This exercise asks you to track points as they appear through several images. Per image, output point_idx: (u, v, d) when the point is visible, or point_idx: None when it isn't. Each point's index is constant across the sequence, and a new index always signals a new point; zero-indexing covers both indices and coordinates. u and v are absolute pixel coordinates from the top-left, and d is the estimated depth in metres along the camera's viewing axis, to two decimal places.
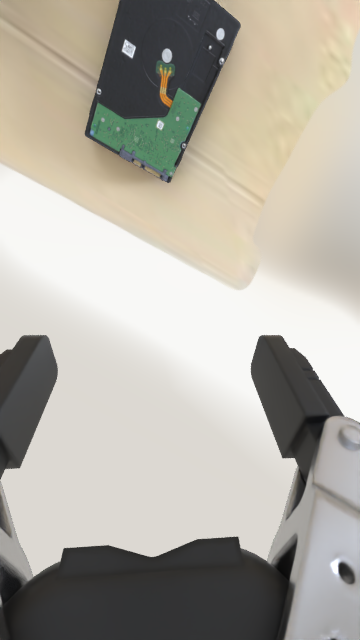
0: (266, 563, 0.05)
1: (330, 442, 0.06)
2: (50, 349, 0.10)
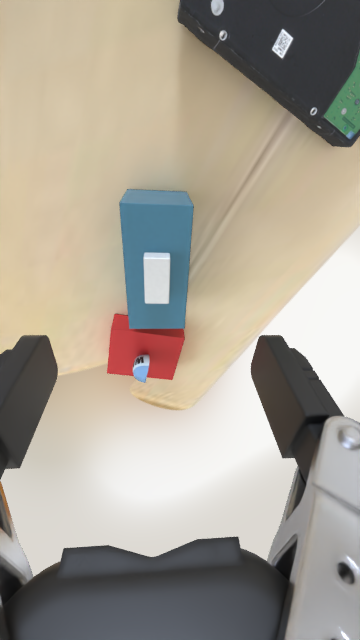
0: (266, 563, 0.05)
1: (330, 442, 0.06)
2: (50, 349, 0.10)
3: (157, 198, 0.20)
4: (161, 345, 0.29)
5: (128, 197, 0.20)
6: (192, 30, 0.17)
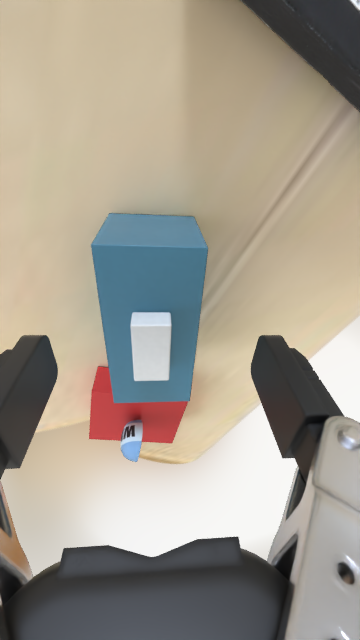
0: (266, 563, 0.05)
1: (330, 442, 0.06)
2: (50, 349, 0.10)
3: (152, 232, 0.13)
4: (157, 408, 0.23)
5: (107, 231, 0.13)
6: None
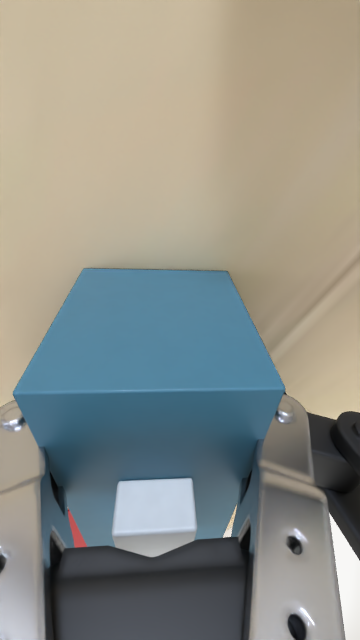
0: (226, 558, 0.05)
1: None
2: None
3: (157, 328, 0.07)
4: None
5: (67, 328, 0.06)
6: None
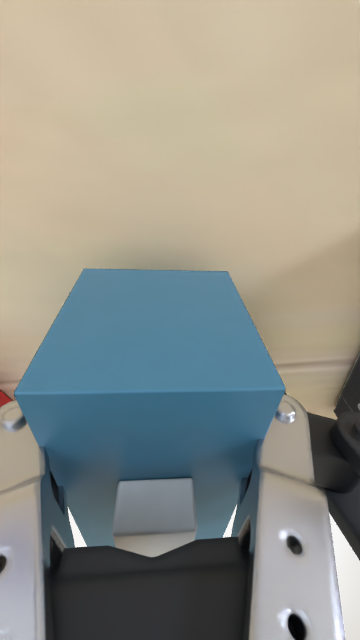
0: (225, 558, 0.05)
1: None
2: None
3: (157, 328, 0.07)
4: None
5: (67, 329, 0.06)
6: None
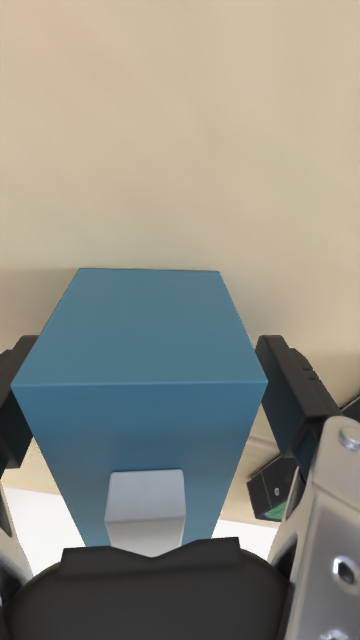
0: (266, 563, 0.05)
1: (330, 442, 0.06)
2: None
3: (148, 325, 0.07)
4: None
5: (62, 325, 0.07)
6: None
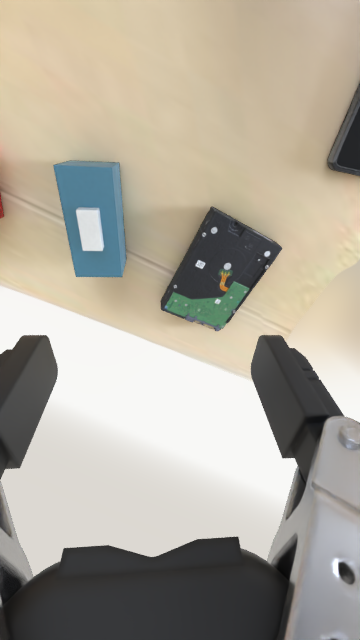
0: (266, 563, 0.05)
1: (330, 442, 0.06)
2: (50, 349, 0.10)
3: (87, 164, 0.25)
4: None
5: (64, 163, 0.25)
6: (207, 215, 0.31)
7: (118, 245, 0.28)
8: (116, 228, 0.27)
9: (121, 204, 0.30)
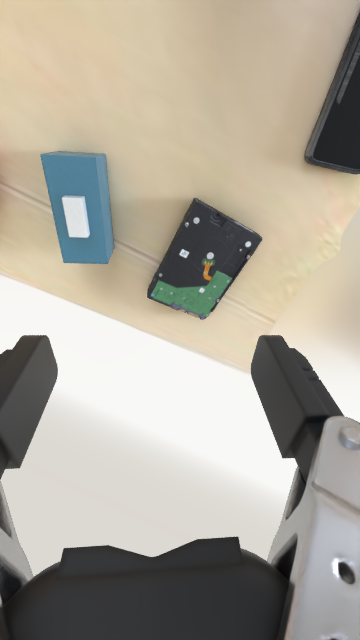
0: (266, 563, 0.05)
1: (330, 442, 0.06)
2: (50, 349, 0.10)
3: (74, 154, 0.27)
4: None
5: (51, 153, 0.27)
6: (190, 206, 0.33)
7: (103, 232, 0.30)
8: (101, 216, 0.28)
9: (108, 194, 0.31)
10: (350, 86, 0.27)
